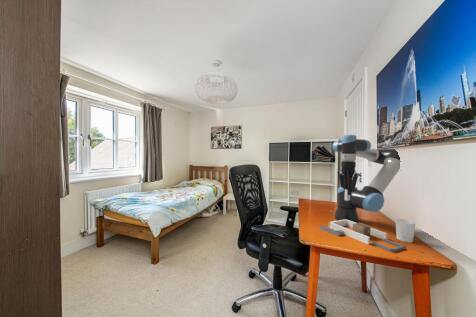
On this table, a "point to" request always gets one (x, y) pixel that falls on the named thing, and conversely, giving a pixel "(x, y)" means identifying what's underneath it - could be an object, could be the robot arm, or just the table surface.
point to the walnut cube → (362, 229)
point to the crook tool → (331, 230)
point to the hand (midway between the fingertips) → (347, 200)
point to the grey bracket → (398, 248)
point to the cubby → (365, 239)
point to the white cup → (405, 230)
